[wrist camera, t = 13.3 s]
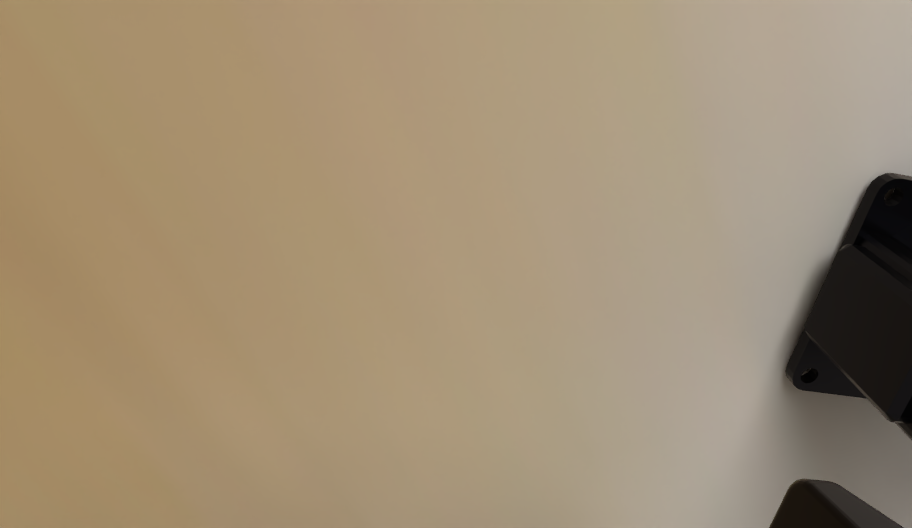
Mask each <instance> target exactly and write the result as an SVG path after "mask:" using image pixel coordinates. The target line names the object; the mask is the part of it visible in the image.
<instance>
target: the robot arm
mask: <svg viewBox="0 0 912 528" xmlns="http://www.w3.org/2000/svg"><path fill="white" fill-rule="evenodd" d="M892 188H894V192H893V194H892V195H891V197H890V198H888V199H886V200H884V197H885V194H886V193H887V192H888V191H889V190H890V189H892ZM810 368H811V369H810ZM807 369H810V370H809V372H808V373H806V374H804V375H801V374H802V373H803V372H804V371H805V370H807ZM786 375H787V377H788V379H789V380H790V381H791V382H792V383H793V385H794V386H795V387H796V388H798V389H800V390H805V391H813V392H820V393H828V394H836V395H844V396H852V397H860V398H867V399H868V400H869V401H870V402H871V403H872V404H873V405H874V406H875V407H876V408H877V409H878V410H879V411H880V412H881V414H882V415H883V416H884V417H885V418H886V419H887V420H889V421H891V422H895V423H896V424H897V425H898V426H899V427H900V428H901V429H902V430H903V431H904V433H905V434H906V435H907V436H908V437H909V438H910V439H911V440H912V177H910V176H905V175H900V174H894V173H886V174H883V175H881V176H878V177H877V178H876V179H875V180H873V181H872V182H871V184H870V185H869V187H868V189H867V191H866V193H865V195H864V197H863V200H862V202H861V204H860V206H859V208H858V211H857V213H856V215H855V217H854V219H853V222H852V224H851V226H850V228H849V230H848V233H847V235H846V237H845V239H844V241H843V244H842V246H841V248H840V250H839V252H838V253H837V256H836V258H835V260H834V262H833V264H832V267H831V269H830V271H829V273H828V275H827V278H826V280H825V282H824V284H823V286H822V289H821V291H820V293H819V295H818V297H817V300H816V302H815V304H814V306H813V309H812V311H811V313H810V315H809V317H808V320H807V322H806V324H805V327H804V329H803V332H802V334H801V336H800V338H799V340H798V343H797V345H796V347H795V349H794V351H793V354H792V356H791V358H790V360H789V363H788V365H787V368H786ZM769 528H903V527H902V526H900V525H899V524H897V523H896V522H894V521H893V520H891V519H890V518H888V517H887V516H885V515H884V514H882V513H881V512H879V511H878V510H876V509H875V508H873V507H872V506H870V505H869V504H867V503H866V502H864V501H862V500H861V499H859V498H858V497H856V496H855V495H853V494H852V493H850V492H849V491H847V490H846V489H844V488H843V487H841V486H840V485H838V484H836V483H833V482H830V481H821V480H811V479H800V480H797V481H795V482H794V483H793V484H792V485H791V486H790V487H789V489H788V491H787V493H786V495H785V497H784V499H783V501H782V503H781V505H780V507H779V509H778V511H777V513H776V515H775V517H774V519H773V521H772V523H771V525H770V527H769Z"/></svg>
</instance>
